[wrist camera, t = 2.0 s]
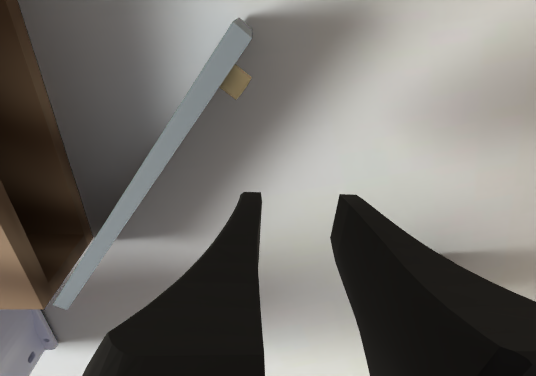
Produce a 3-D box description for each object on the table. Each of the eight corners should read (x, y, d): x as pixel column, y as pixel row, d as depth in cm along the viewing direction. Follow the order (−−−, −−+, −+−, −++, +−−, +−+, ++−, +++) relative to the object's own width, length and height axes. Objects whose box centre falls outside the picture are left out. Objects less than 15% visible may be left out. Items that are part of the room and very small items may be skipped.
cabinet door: (121, 249, 22) (84, 316, 17) (97, 238, 21) (52, 305, 17) (267, 42, 15) (275, 57, 10) (239, 17, 15) (232, 21, 10)
